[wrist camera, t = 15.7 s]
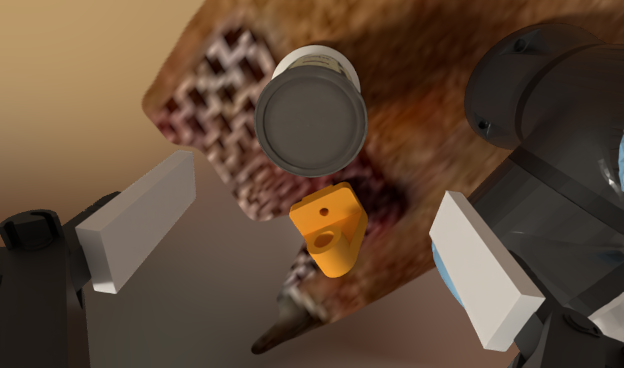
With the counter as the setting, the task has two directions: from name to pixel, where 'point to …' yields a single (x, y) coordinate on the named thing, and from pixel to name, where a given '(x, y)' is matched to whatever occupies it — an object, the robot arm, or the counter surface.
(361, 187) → the counter surface
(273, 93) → the coffee can
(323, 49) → the plate
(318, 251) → the bracket
